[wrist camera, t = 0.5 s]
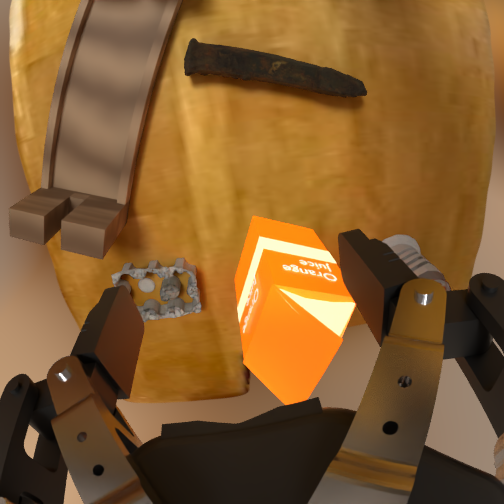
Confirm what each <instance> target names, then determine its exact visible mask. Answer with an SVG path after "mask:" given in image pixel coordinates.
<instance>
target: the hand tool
mask: <svg viewBox="0 0 504 504" xmlns="http://www.w3.org/2000/svg"><path fill="white" fill-rule="evenodd" d="M184 61H185V62H184V69H185V75H186V76H190V75H192V74H195V73H199V74H201V75H208V74H213V75H219V76H223V77H232V78H235V79H238V78H240V79H242V80H257V81H263V82H269V83H275V84H281V85H285V86H290V87H295V88H299V89H304V90H309V91H312V92H316V93H320V94H327V95H332V96H341V97H357V96H366V95H367V90H366V88H365V86H364V84H363V83H362V81H360V80H358V79H356V78H353V77H352V76H350V75H346V74H343V73H341V72H339V71H336V70H334V69H332V68H328V67H319V66H317V65H313V64H309V63H305V62H301V61H296V60H294V59H290V58H285V57H282V56H278V55H274V54H269V53H264V52H259V51H254V50H248V49H243V48H237V47H230V46H223V45H213V44H205V43H199V42H198V41H197V40H196V39H195V38H192V39H191V41H190V42H189V45H188V49H187V52H186V56H185V59H184Z"/></svg>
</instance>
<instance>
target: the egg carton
mask: <svg viewBox="0 0 504 504" xmlns="http://www.w3.org/2000/svg"><path fill="white" fill-rule="evenodd" d="M152 270H154V271H153V274H158V276H159V277H160V278H162V277H164V280H163V282H162V286H161V290H160V296H161V300H162V301H168V300H169V301H168V304H164V305H160V303H159V302H158V301H156V300H154V299H149V300H147V301H145V303H144V306H137V305H136V304H135V305H136V307H137V309H138V310H139V312H140V314H141V316H142V319H143V322H146V321H147V320H150V319H152V320H159V319H161V318H176V317H179V316H183V315H186V314H190V313H192V312H195V313H200V312H201V303H200V290H199V288H197V286H196V284H197V280H196V272H197V271H196V266H195V265H190V264H188V263H187V262H186V260H185V258H177V259H176V263H175V265H174V266H173V267H169V268H167V267H163V266H161V265H160V264H159V262H158V261H157V260H155V261H150V263H149V266H148V268H147V269H136V268H135V267H134V266H133V264H132V263H125V264H124V267H123V269H122V271H121V272H118V273H115V274H113V275H112V279H113V284H114V286H115V287H116V286H120V285H124V286H126V288H127V289H128V291H129V293H130V291H131V286H130V284H129V283H128V282H127V281H126V280H122V279H120V277H121V275H122V274H130V275H131V276H132V277H133V279H134V278H136V279H140V280H139V282H138V286H139V288H140V289H141V290H142V291H144V292H152V291H153V290H154V289H155V283H154V282H153V281H152V280H151V279H149V278H145V276H146V273H147V271H148V272H152ZM174 271H177V273H180V274H182V273H183V272H185V271H186V272H187V273H189V274H190V275H191V276H190V277H189V280H188V287H187V294H188V295H190V296H191V298H194V299H193V302H191V303H185V302H184V301H183V300H182V299H181V298H179V297H178V295H179V292H180V285H181V282H180V280H179V278H177V277H176V276H174V275H173V274H174Z"/></svg>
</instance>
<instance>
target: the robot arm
mask: <svg viewBox="0 0 504 504" xmlns="http://www.w3.org/2000/svg"><path fill="white" fill-rule="evenodd" d="M338 243H339V255H340V268H341V275H342V279H343V282H344V285H345V287H346V288H347V290H348V292H349V294H350V295H351V297H352V299H353V300H354V302H355V304H356V305H357V307H358V309H359V311H360V312H361V314H362V316H363V317H364V319H365V321H366V323H367V324H368V326H369V328H370V330H371V331H372V333H373V335H374V337H375V339H376V340H377V342H378V344H379V346H380V347H381V349H380V352H379V355H378V358H377V361H376V364H375V366H374V370H373V372H372V375H371V377H370V380H369V383H368V385H367V388H366V390H365V393H364V396H363V398H362V401H361V403H360V406H359V408H358V411H353V410H349V409H343V408H331V407H327V408H322V407H321V404H320V401H319V398H318V397H317V398H313V399H309V400H305V401H301V402H297V403H293V404H289V405H284V406H280V407H277V408H275V409H273V410H270V411H268V412H266V413H264V414H261V415H259V416H257V417H254V418H252V419H249V420H247V421H244V422H242V423H237V424H231V423H217V422H206V421H191V422H182V423H171V424H162V431H161V436H158V437H156V438H154V439H151V440H149V441H148V442H146V443H144V444H142V442H141V441H140V440H139V438H138V437H137V435H136V434H135V432H134V431H133V429H132V428H131V426H130V425H129V423H128V422H127V420H126V419H125V417H124V416H123V414H122V412H121V411H120V410H119V408H118V407H117V406H116V402H117V399H129V398H130V393H131V388H132V383H133V378H134V374H135V369H136V364H137V360H138V356H139V351H140V347H141V343H142V338H143V334H144V322H143V319H142V316H141V314H140V312H139V310H138V309H137V307H136V305H135V303H134V301H133V299H132V297H131V295H130V293H129V291H128V289H127V288H126V286H124V285H120V286H116V287H112V288H107V289H105V290H104V292H103V294H102V296H101V298H100V301H99V303H98V304H97V305H96V306H95V307H94V308H93V309H92V310H91V311H90V312H89V314H88V316H87V318H86V320H85V324H84V325H83V327H82V329H81V332H80V334H79V336H78V338H77V341H76V343H75V345H74V347H73V350H72V352H71V354H70V356H66V357H63V358H61V359H60V360H58V361H56V362H55V363H54V364H53V365H52V367H51V368H50V369H49V371H48V374H47V379H44V380H42V381H39V382H37V383H33V381H32V380H31V379H30V378H29V377H28V376H27V375H26V374H19V375H17V376H15V377H14V378H12V379H11V380H10V381H9V382H8V384H7V385H6V387H5V389H4V391H3V394H2V396H1V398H0V504H63V503H64V494H65V487H66V479H67V472H68V470H69V473H70V475H71V477H72V480H73V482H74V484H75V486H76V488H77V490H78V493H79V495H80V497H81V499H82V501H83V503H84V504H504V356H503V355H502V353H501V352H500V351H499V349H498V348H497V346H496V345H495V344H494V342H493V341H492V340H493V338H494V339H495V341H496V342H497V344H498V345H499V346H500V348H501V349H502V351H503V353H504V280H503V279H501V278H500V277H498V276H496V275H493V274H489V273H480V274H477V275H475V276H473V277H472V278H471V279H470V282H469V286H468V289H466V290H455V291H446V290H445V289H444V287H443V286H442V285H441V284H440V283H438V282H436V281H434V280H431V279H425V278H418V276H417V275H416V274H415V273H414V272H413V271H412V270H411V269H410V268H409V267H408V266H407V265H406V264H405V262H404V261H403V260H402V259H400V257H399V256H398V255H397V254H396V253H394V251H393V250H392V249H391V248H390V247H389V246H388V245H387V244H386V243H384V242H382V241H379V240H377V239H371V240H369V239H368V238H367V237H366V235H365V234H364V233H363V232H362V231H361V230H360V229H355V230H351V231H347V232H343V233H339V235H338ZM451 358H455V359H456V361H457V363H458V364H459V366H460V368H461V369H462V371H463V373H464V374H465V376H466V378H467V380H468V381H469V383H470V385H471V387H472V388H473V390H474V392H475V394H476V396H477V397H478V399H479V401H480V403H481V405H482V407H483V409H484V411H485V412H486V414H487V416H488V418H489V420H490V422H491V424H492V426H493V428H494V430H495V432H496V434H497V436H498V440H497V442H496V445H495V448H494V459H495V463H494V465H495V468H496V475H495V476H493V475H491V474H489V473H486V472H484V471H481V470H479V469H477V468H474V467H472V466H470V465H467V464H465V463H463V462H460V461H458V460H456V459H454V458H451V457H449V456H447V455H445V454H443V453H441V452H438V451H436V450H434V449H432V448H430V447H428V446H426V445H425V441H426V437H427V433H428V430H429V426H430V422H431V418H432V413H433V409H434V405H435V400H436V395H437V390H438V385H439V380H440V374H441V368H442V361H443V359H451ZM29 425H31V426H32V427H33V428H34V429H35V430H36V431H37V432H38V433H39V437H38V441H37V445H36V449H35V453H34V457H33V459H32V458H30V457H29V456H28V455H27V453H26V452H25V449H24V439H25V436H26V433H27V429H28V426H29Z"/></svg>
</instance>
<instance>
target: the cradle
mask: <svg viewBox="0 0 504 504" xmlns="http://www.w3.org/2000/svg"><path fill="white" fill-rule="evenodd" d="M182 1H183V0H81V2H80V5H79V7H78V10H77V13H76V15H75V18H74V21H73V24H72V27H71V30H70V33H69V36H68V39H67V42H66V46H65V49H64V53H63V56H62V60H61V64H60V67H59V71H58V76H57V80H56V84H55V89H54V93H53V98H52V103H51V109H50V114H49V120H48V127H47V133H46V141H45V149H44V158H43V169H42V182H41V188H40V189H38V190H37V191H35V192H33V193H32V194H30V195H29V196H27V197H25V198H24V199H22V200H21V201H19V202H18V203H16V204H15V205H13V206H12V207H10V208H9V226H10V236H12V237H15V238H19V239H23V240H26V241H30V242H35V243H38V244H42V245H45V244H46V243H47V242H48V241H49V240H50V239H51V238H52V237H53V236H54V235H55V234H56V233H57V232H58V231H59V230H60V229H61V250H65V251H69V252H74V253H78V254H82V255H86V256H90V257H94V258H98V259H103V258H104V256H105V255H106V253H107V252H108V250H109V249H110V247H111V246H112V244H113V242H114V241H115V239H116V238H117V236H118V235H119V233H120V232H121V230H122V229H123V227H124V226H125V225H126V222H127V215H128V208H129V201H130V195H131V189H132V183H133V177H134V172H135V166H136V161H137V156H138V151H139V146H140V142H141V137H142V132H143V128H144V124H145V119H146V115H147V111H148V107H149V103H150V100H151V96H152V92H153V88H154V85H155V81H156V78H157V74H158V71H159V67H160V64H161V61H162V58H163V54H164V51H165V48H166V45H167V42H168V39H169V36H170V33H171V30H172V28H173V25H174V22H175V19H176V17H177V14H178V11H179V9H180V6H181V3H182Z"/></svg>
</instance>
